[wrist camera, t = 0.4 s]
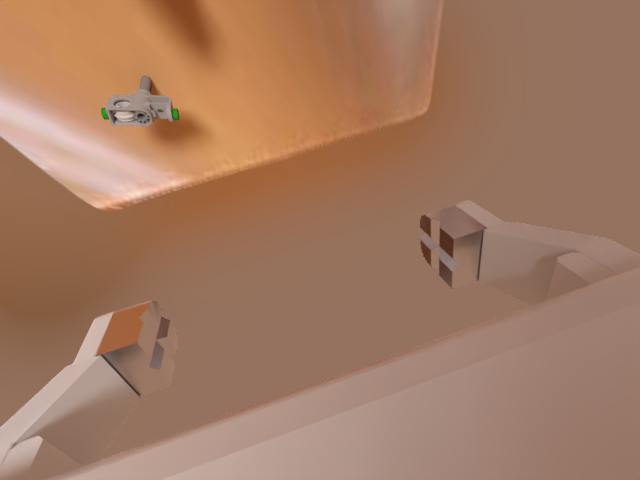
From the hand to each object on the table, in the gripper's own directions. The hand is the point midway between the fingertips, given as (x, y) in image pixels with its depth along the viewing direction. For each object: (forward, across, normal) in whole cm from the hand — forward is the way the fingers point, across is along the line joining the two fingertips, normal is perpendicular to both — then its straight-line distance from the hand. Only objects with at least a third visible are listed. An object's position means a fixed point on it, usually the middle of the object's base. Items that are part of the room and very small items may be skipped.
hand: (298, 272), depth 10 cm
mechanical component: (+57, +14, -4) cm, 59 cm away
